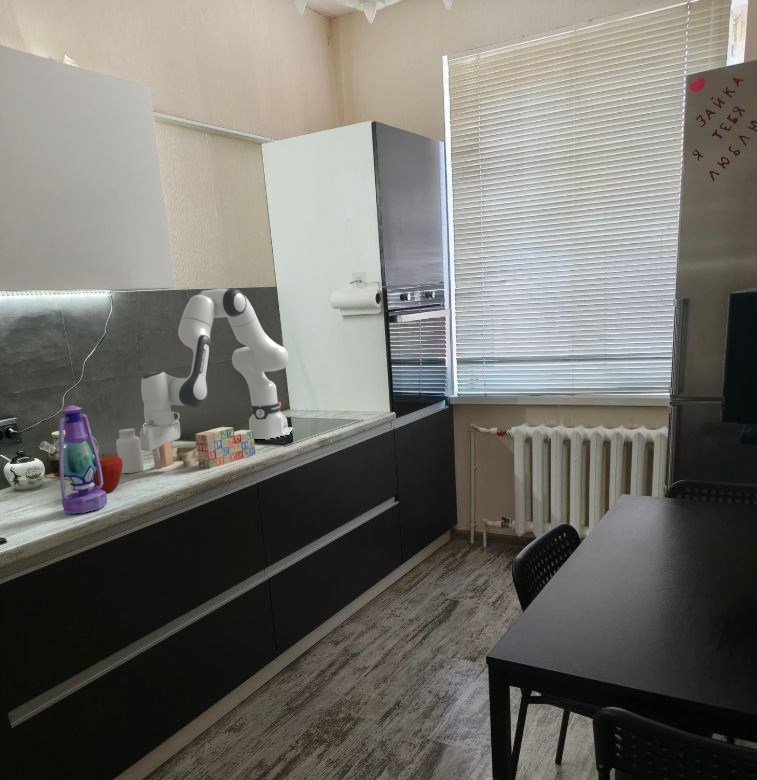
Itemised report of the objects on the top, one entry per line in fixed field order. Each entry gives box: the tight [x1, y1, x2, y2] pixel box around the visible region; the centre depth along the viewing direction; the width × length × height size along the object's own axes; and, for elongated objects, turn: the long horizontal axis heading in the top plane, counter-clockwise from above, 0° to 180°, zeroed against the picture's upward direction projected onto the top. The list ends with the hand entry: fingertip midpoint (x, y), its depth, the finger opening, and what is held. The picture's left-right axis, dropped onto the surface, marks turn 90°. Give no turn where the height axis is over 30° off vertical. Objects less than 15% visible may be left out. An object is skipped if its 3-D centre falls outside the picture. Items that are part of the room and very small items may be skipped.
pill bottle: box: [115, 428, 145, 474], centre depth 215 cm, size 8×8×15 cm
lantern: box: [58, 405, 108, 515], centre depth 172 cm, size 13×12×30 cm
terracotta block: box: [152, 441, 174, 468], centre depth 211 cm, size 4×4×8 cm
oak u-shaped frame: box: [157, 445, 199, 469], centre depth 223 cm, size 14×11×4 cm
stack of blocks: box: [194, 426, 256, 469], centre depth 221 cm, size 21×6×12 cm, turn 145°
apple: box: [93, 453, 123, 493], centre depth 191 cm, size 11×11×12 cm
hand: (163, 457), depth 211 cm, fingers closed on terracotta block, 4 cm apart
